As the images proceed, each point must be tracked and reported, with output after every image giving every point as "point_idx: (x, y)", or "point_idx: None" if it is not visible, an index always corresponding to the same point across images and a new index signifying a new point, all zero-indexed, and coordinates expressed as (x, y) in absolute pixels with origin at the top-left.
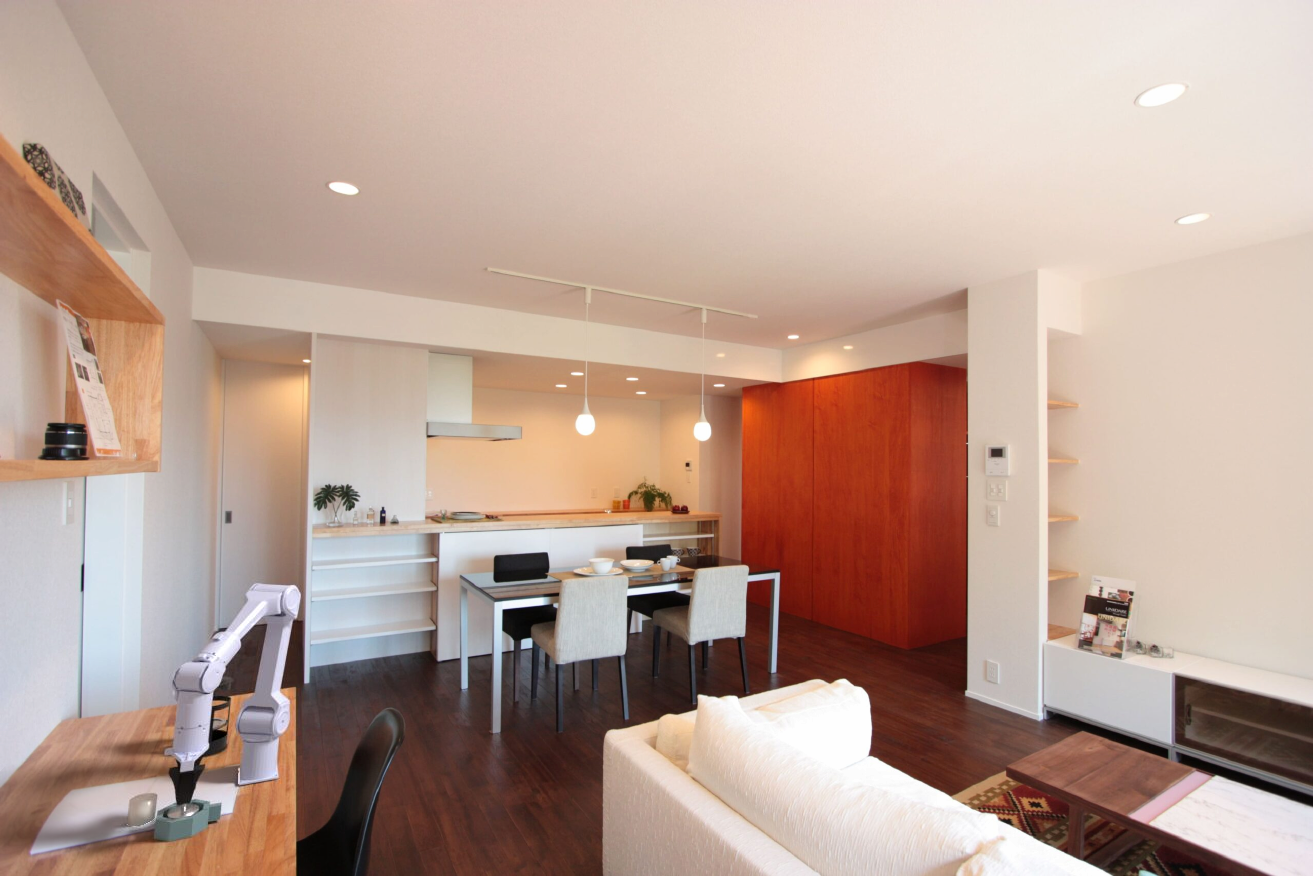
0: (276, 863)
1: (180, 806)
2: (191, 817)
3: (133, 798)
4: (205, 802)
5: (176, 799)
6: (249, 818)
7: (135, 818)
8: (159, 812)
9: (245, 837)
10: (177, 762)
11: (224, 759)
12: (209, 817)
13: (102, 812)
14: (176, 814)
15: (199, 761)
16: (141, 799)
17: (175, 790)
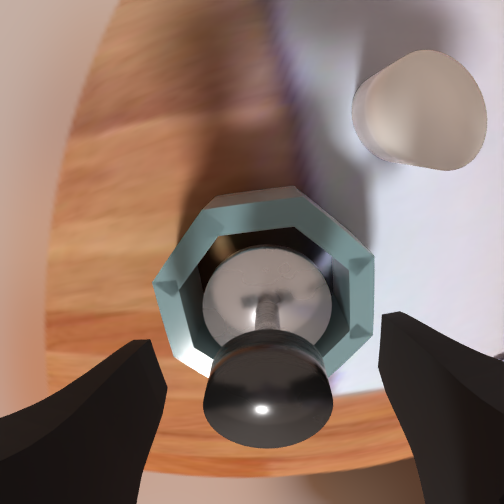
0: None
1: (323, 289)
2: (180, 351)
3: (449, 65)
4: None
5: (111, 356)
6: None
7: (363, 96)
8: (283, 208)
9: (158, 426)
10: (484, 408)
11: None
12: None
13: (479, 11)
14: (233, 290)
15: (425, 492)
16: (430, 100)
17: (65, 388)
